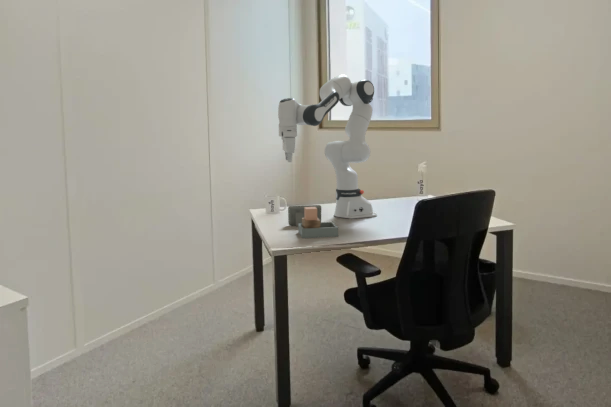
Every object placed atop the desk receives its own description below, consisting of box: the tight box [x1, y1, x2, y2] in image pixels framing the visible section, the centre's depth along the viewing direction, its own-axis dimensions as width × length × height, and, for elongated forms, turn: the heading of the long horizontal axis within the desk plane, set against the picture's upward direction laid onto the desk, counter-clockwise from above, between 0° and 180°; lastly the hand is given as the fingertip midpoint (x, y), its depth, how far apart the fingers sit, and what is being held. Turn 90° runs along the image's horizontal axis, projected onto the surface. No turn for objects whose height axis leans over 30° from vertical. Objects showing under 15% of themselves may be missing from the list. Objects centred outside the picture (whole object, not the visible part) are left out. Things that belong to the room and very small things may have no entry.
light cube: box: [304, 207, 317, 220], centre depth 251 cm, size 5×5×5 cm
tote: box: [297, 221, 339, 239], centre depth 253 cm, size 16×12×5 cm
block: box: [302, 217, 320, 229], centre depth 252 cm, size 7×8×7 cm
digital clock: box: [287, 204, 322, 227], centre depth 274 cm, size 16×9×11 cm, turn 81°
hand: (288, 161), depth 276 cm, fingers open, 8 cm apart
